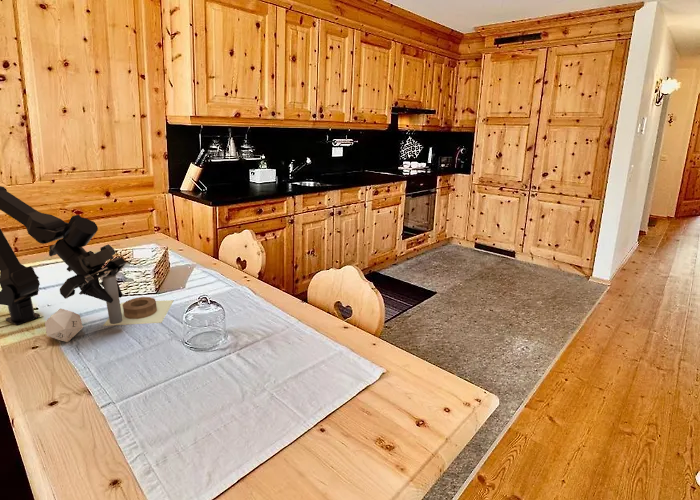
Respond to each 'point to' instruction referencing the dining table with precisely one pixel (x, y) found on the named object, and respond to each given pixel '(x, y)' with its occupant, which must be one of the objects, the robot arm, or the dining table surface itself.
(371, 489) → the dining table surface
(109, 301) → the robot arm
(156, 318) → the mat
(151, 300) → the bead
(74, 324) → the die
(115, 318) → the grey rounded peg
